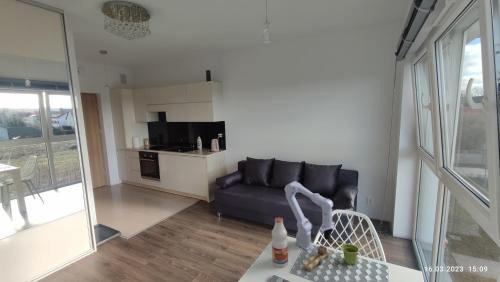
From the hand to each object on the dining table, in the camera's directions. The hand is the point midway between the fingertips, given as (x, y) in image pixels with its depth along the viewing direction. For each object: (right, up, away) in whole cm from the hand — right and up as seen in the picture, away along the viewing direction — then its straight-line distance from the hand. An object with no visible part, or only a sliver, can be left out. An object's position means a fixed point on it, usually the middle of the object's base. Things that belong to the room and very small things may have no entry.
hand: (327, 239), depth 147 cm
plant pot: (+11, -10, -8) cm, 17 cm away
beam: (-9, -11, -7) cm, 16 cm away
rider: (-4, -8, -3) cm, 10 cm away
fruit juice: (-31, -12, -6) cm, 34 cm away
